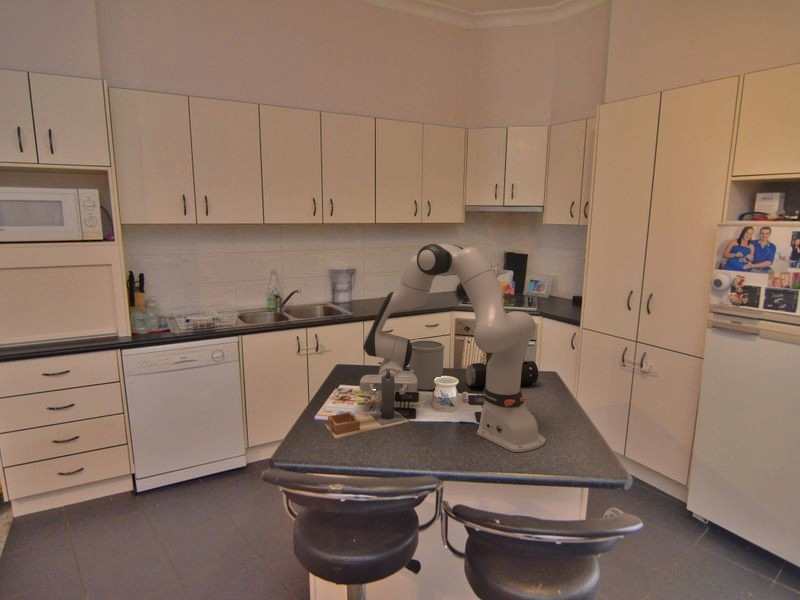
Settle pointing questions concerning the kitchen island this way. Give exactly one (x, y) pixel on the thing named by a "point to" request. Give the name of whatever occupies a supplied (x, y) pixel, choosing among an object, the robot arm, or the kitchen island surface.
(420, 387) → the utensil holder
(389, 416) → the plug
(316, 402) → the kitchen island surface
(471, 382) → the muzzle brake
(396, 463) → the kitchen island surface
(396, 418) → the cable board
